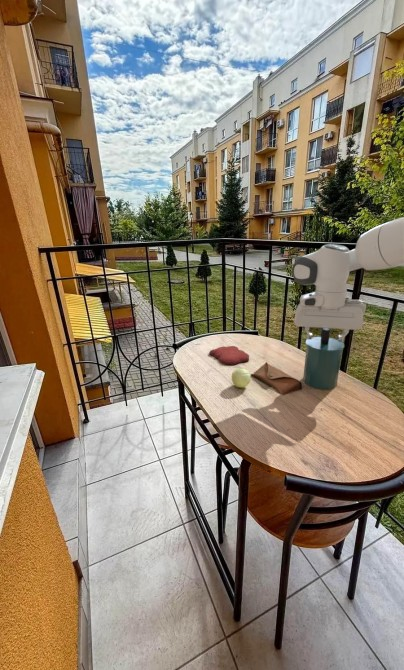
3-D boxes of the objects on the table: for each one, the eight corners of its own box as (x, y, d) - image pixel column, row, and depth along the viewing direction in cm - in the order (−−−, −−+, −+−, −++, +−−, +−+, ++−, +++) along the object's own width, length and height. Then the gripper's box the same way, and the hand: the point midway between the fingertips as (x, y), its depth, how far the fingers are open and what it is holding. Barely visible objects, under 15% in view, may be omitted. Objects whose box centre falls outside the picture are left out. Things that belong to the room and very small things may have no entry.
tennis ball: (254, 387, 97) (254, 370, 94) (239, 393, 94) (239, 375, 91) (242, 380, 102) (242, 363, 100) (227, 385, 99) (227, 368, 96)
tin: (341, 382, 98) (347, 344, 93) (327, 394, 91) (333, 354, 86) (312, 372, 105) (316, 336, 100) (297, 383, 99) (300, 345, 93)
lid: (350, 345, 93) (352, 328, 91) (334, 357, 85) (336, 338, 83) (315, 337, 101) (317, 321, 99) (298, 346, 94) (299, 329, 92)
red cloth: (206, 352, 126) (206, 348, 126) (232, 346, 132) (232, 342, 131) (226, 367, 112) (226, 363, 111) (254, 360, 117) (255, 355, 116)
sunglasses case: (248, 374, 105) (256, 358, 104) (261, 378, 109) (268, 362, 108) (284, 396, 90) (293, 378, 90) (296, 400, 94) (305, 382, 94)
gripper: (365, 297, 87) (358, 339, 92) (296, 295, 93) (293, 334, 98) (369, 302, 82) (361, 346, 87) (295, 300, 88) (292, 341, 93)
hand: (324, 340), depth 92 cm, fingers open, 8 cm apart
